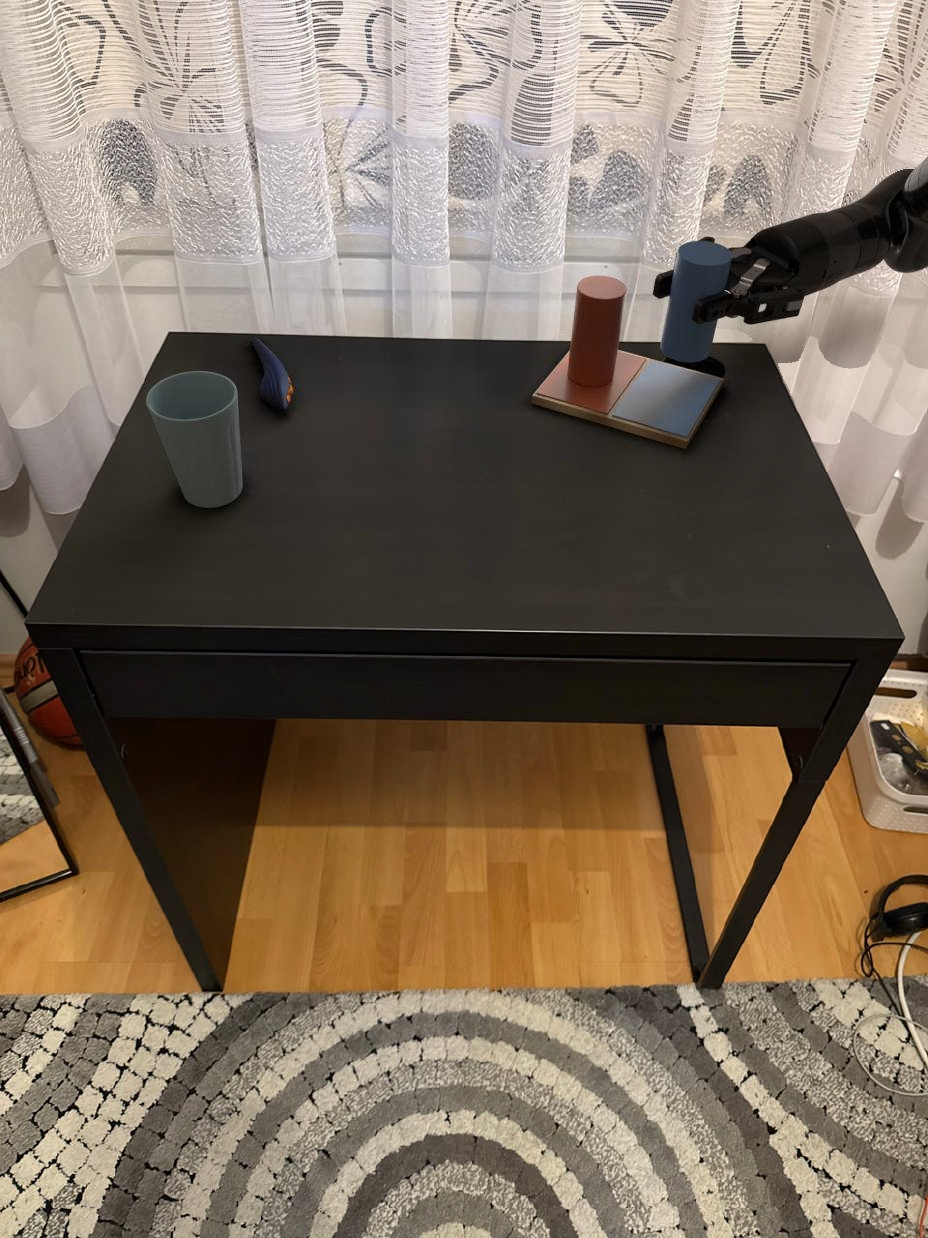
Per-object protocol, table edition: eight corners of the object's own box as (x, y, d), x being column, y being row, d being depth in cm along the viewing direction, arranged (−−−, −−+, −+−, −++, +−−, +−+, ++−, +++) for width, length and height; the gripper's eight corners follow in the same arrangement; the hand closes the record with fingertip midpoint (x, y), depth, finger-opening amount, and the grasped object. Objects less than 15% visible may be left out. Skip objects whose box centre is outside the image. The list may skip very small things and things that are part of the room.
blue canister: (716, 343, 94) (738, 247, 87) (701, 367, 91) (723, 269, 84) (669, 331, 96) (687, 236, 89) (653, 354, 93) (670, 257, 85)
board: (722, 386, 101) (724, 377, 101) (685, 449, 93) (687, 440, 93) (577, 346, 106) (578, 337, 106) (531, 403, 98) (532, 394, 98)
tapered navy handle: (244, 355, 106) (236, 336, 104) (273, 344, 106) (265, 325, 104) (272, 424, 95) (264, 404, 93) (304, 411, 95) (296, 391, 94)
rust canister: (620, 369, 101) (634, 282, 94) (603, 391, 98) (616, 303, 91) (577, 357, 103) (588, 270, 95) (560, 379, 100) (569, 291, 92)
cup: (237, 455, 91) (218, 361, 84) (267, 499, 87) (250, 404, 79) (161, 479, 89) (134, 384, 81) (188, 526, 84) (163, 430, 76)
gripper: (759, 194, 96) (632, 232, 89) (869, 248, 88) (738, 295, 81) (742, 264, 101) (621, 304, 95) (844, 321, 93) (720, 370, 87)
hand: (676, 300), depth 88 cm, fingers closed on blue canister, 5 cm apart
